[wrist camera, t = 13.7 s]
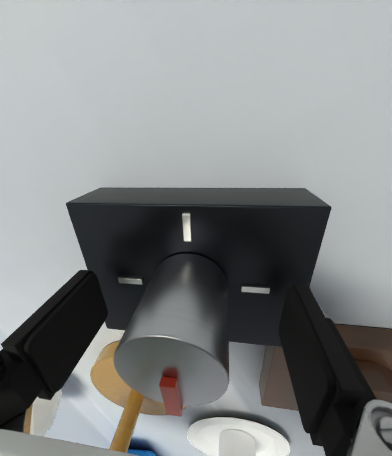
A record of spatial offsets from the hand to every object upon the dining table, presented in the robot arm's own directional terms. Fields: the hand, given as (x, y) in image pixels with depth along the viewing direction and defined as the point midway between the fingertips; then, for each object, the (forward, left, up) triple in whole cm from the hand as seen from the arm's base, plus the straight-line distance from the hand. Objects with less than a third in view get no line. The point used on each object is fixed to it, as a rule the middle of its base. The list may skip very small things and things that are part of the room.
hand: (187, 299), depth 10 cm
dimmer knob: (0, 0, -1) cm, 1 cm away
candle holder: (-4, +26, -4) cm, 27 cm away
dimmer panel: (0, 0, -4) cm, 4 cm away
